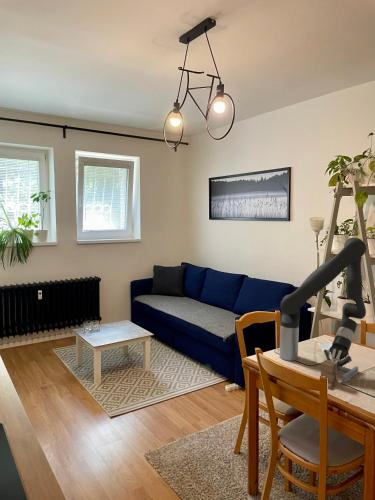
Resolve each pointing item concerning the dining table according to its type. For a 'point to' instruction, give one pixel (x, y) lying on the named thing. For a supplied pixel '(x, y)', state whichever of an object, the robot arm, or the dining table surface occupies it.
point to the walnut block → (329, 372)
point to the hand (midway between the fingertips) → (331, 372)
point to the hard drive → (325, 346)
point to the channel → (348, 372)
